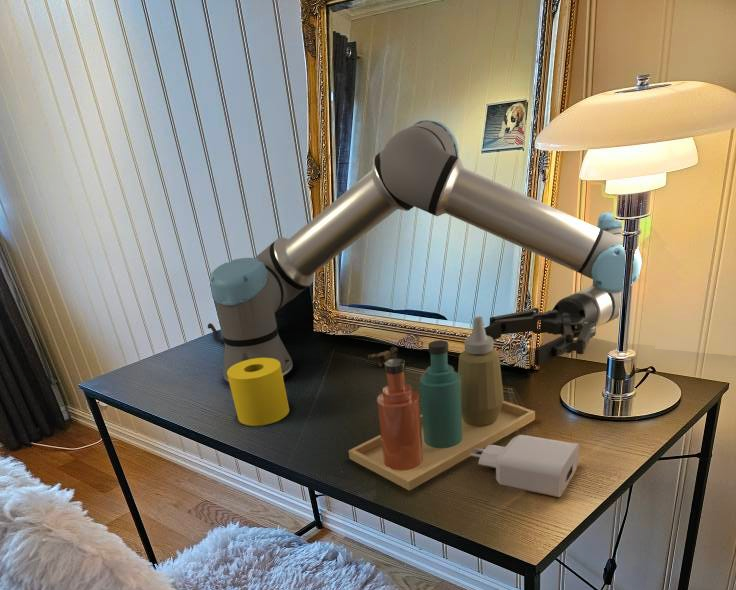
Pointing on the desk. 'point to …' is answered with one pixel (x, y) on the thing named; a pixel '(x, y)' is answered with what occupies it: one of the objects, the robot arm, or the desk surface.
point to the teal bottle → (441, 400)
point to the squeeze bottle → (480, 378)
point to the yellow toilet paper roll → (258, 391)
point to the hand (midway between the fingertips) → (504, 348)
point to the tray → (443, 458)
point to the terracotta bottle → (399, 420)
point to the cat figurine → (384, 356)
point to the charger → (532, 463)
